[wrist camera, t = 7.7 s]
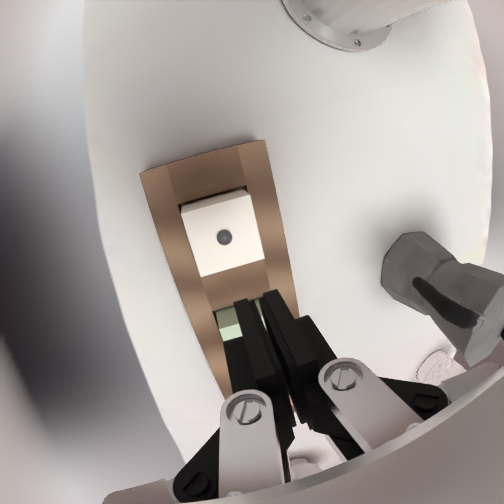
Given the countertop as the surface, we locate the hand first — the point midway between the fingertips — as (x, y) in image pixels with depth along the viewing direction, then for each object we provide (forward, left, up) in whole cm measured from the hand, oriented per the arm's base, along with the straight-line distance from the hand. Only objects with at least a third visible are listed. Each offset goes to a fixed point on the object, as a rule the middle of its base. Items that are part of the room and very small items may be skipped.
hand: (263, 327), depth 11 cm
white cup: (+35, +29, -17) cm, 48 cm away
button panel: (+10, 0, -17) cm, 19 cm away
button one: (0, 0, -14) cm, 14 cm away
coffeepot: (+11, +20, -17) cm, 28 cm away
